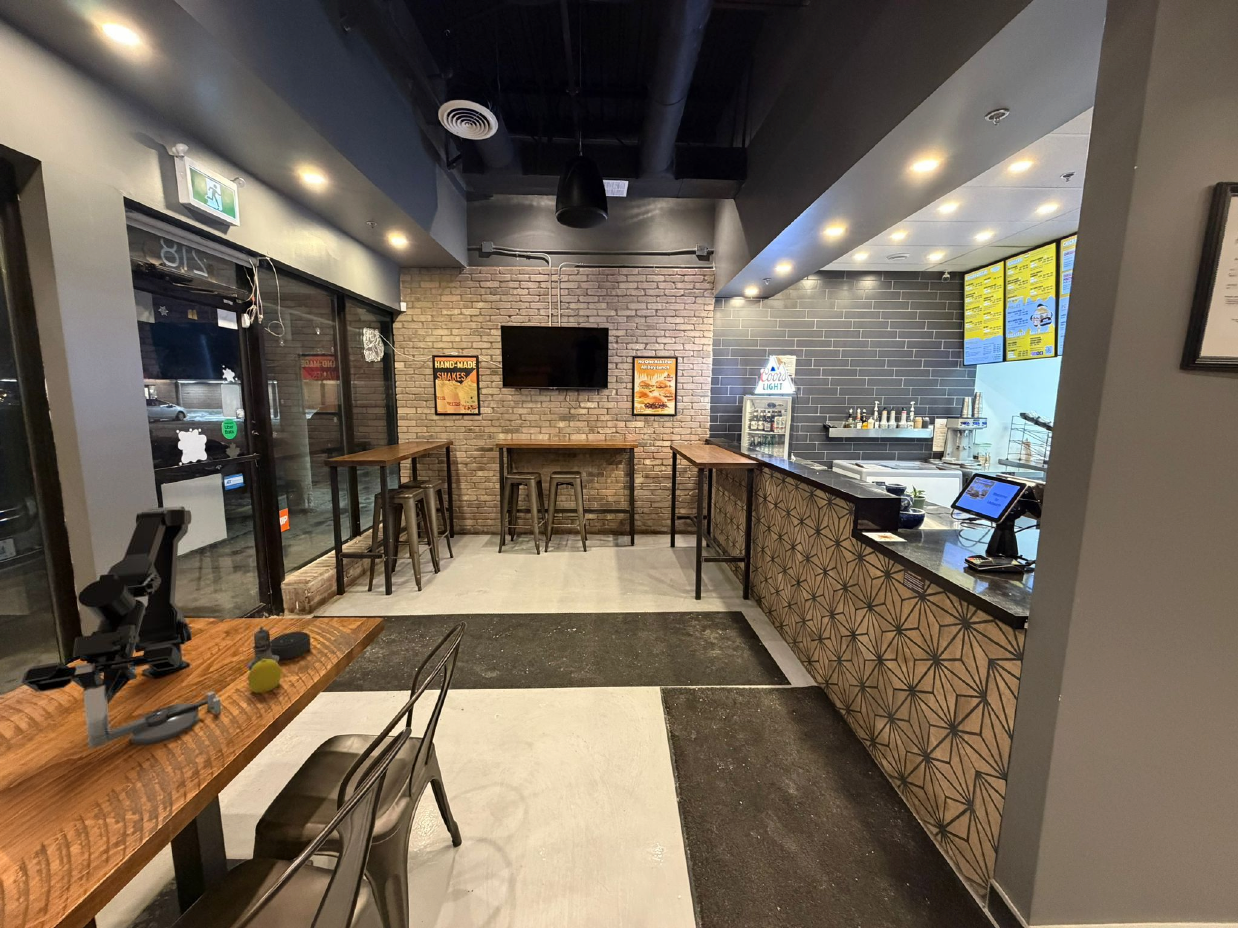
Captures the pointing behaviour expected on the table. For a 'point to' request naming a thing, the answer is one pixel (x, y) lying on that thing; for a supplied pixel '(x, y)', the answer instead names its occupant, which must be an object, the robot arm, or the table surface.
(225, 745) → the table surface
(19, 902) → the table surface
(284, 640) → the smart speaker
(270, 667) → the lemon
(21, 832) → the table surface
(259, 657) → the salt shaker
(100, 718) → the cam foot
